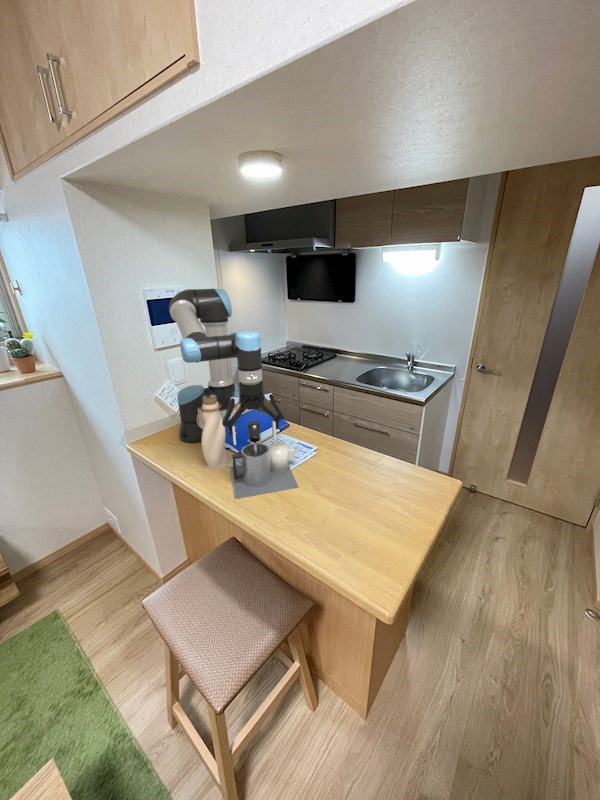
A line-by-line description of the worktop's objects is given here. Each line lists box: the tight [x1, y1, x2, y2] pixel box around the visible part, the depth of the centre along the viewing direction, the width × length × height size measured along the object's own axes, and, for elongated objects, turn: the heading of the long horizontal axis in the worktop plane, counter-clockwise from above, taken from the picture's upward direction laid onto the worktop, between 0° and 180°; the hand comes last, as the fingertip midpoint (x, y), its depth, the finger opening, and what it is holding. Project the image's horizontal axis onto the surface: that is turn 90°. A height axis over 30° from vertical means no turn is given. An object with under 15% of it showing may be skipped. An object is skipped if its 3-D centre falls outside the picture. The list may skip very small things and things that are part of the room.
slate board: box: [229, 464, 300, 500], centre depth 116 cm, size 20×22×1 cm
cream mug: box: [268, 441, 296, 473], centre depth 119 cm, size 8×10×9 cm
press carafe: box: [231, 442, 271, 487], centre depth 111 cm, size 10×13×12 cm
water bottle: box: [197, 397, 228, 471], centre depth 118 cm, size 10×9×28 cm
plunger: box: [247, 420, 261, 456], centre depth 110 cm, size 7×7×19 cm
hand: (254, 440), depth 108 cm, fingers open, 13 cm apart
